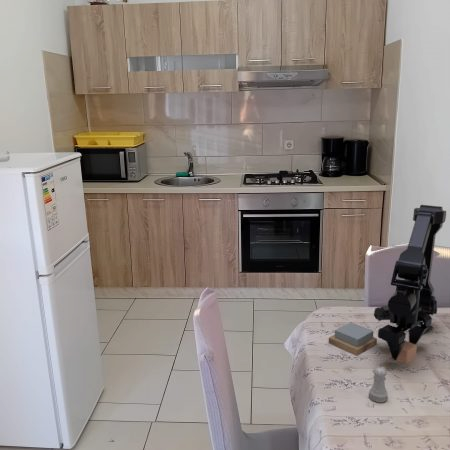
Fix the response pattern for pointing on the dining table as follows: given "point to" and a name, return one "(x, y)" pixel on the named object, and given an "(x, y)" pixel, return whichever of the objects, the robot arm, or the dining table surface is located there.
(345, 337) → the slate top block
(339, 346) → the walnut base block
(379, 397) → the grey chess pawn
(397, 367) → the dining table surface
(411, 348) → the terracotta block
